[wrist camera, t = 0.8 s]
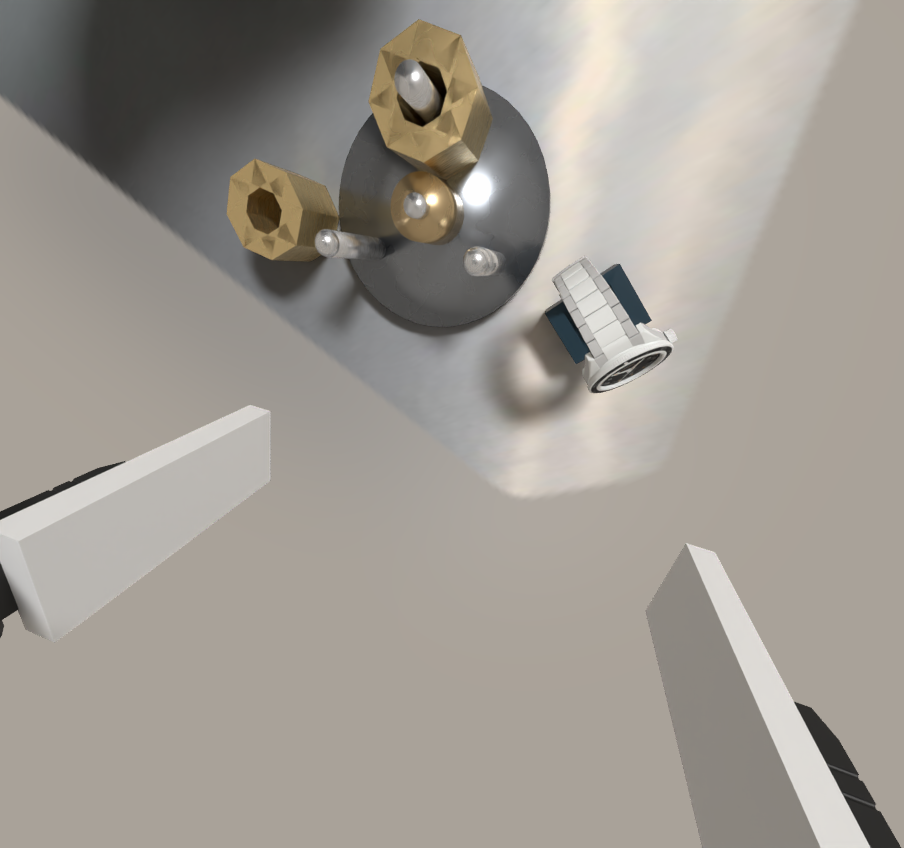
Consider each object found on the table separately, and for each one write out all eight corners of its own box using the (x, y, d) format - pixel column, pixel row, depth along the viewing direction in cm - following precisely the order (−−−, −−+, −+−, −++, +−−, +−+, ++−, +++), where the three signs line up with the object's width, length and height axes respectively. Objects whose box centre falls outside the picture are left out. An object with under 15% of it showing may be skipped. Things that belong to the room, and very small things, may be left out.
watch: (587, 376, 31) (598, 424, 22) (534, 289, 30) (520, 299, 20) (656, 337, 29) (705, 371, 19) (602, 242, 28) (625, 226, 18)
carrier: (315, 163, 31) (223, 123, 23) (504, 32, 25) (474, -87, 17) (399, 351, 35) (347, 377, 26) (579, 276, 29) (586, 278, 21)
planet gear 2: (389, 101, 27) (355, 68, 22) (468, 46, 25) (447, -4, 20) (424, 192, 28) (399, 177, 24) (502, 147, 26) (489, 122, 22)
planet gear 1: (261, 200, 33) (214, 189, 29) (315, 162, 31) (273, 144, 26) (295, 270, 35) (255, 270, 30) (349, 239, 32) (314, 234, 28)
